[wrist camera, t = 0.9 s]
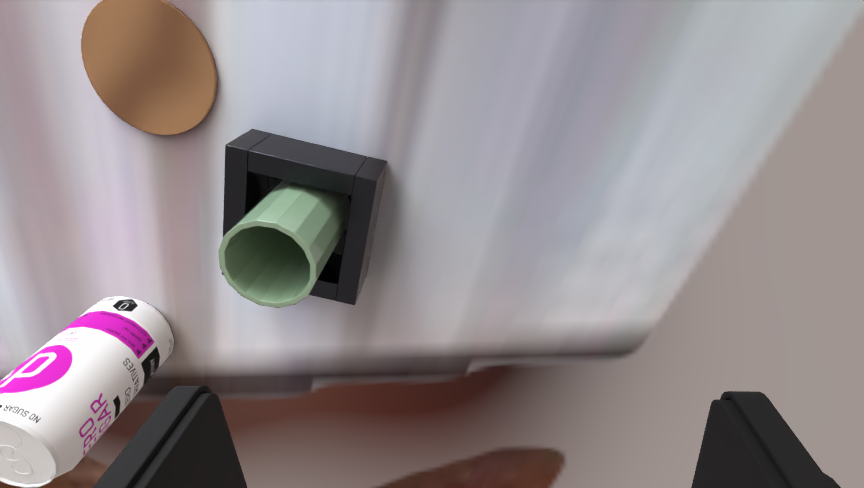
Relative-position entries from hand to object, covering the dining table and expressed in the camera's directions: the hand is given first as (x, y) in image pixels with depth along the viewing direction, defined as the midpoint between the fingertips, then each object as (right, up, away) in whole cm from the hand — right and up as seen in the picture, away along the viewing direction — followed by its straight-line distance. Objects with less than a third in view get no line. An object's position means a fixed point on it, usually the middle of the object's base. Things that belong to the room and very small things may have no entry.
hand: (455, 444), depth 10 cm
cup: (-10, +7, +31) cm, 34 cm away
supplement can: (-29, -4, +39) cm, 49 cm away
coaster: (-21, +17, +27) cm, 39 cm away
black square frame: (-10, +7, +31) cm, 34 cm away
